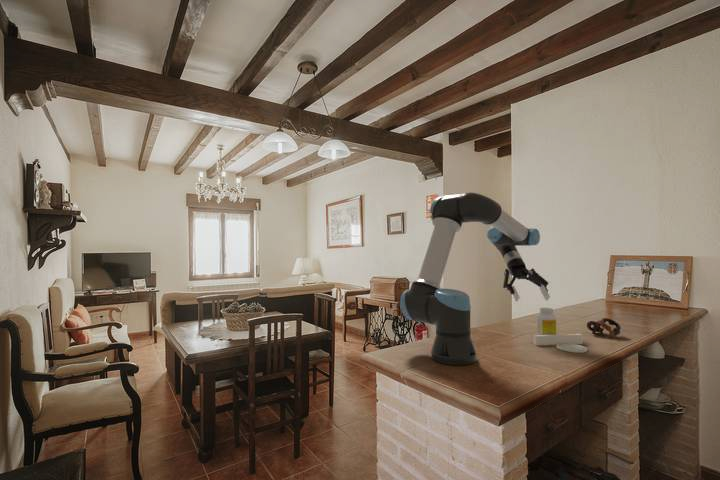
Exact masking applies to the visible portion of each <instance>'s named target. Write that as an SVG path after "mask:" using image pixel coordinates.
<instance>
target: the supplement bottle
mask: <svg viewBox="0 0 720 480" xmlns="http://www.w3.org/2000/svg"><path fill="white" fill-rule="evenodd" d="M539 311H540V312H539V313H540V314H538V315H537V335H556V334H557V316H555V315H554V308H552V307H551V308H550V307H540V308H539Z"/></svg>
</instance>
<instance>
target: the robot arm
mask: <svg viewBox="0 0 720 480" xmlns="http://www.w3.org/2000/svg"><path fill="white" fill-rule="evenodd" d="M429 213H430V219H431V221H432V226H433V230H432V233H431V237H430V240H429V243H428V246H427V250H426V253H425V256H424V259H423V260H422V264H421V265H422V266H421V268H420V272H419V275H418V276H417V279H416V280H414V281H413V282H411V287H410V288H408V289H405V290H404V291H403V292H402V294H401V295H400V303H399V307H400V310H401V313H402V314H403V316H404V317H405V318H406V319H408V320H409V321H414V322H416V323H423V324H428V325H429V324H430V325H433V326H434V325H435V338H434V341H433V343H432V346H431V350H430V357H431V359H432V360H433V361H434V362H436V363H440V364H443V365H448V366H449V365H450V366H469V365H472V364H475V363H476V362H477V352H476V348H475V346H474V342H473V340H472V336H471V331H472V329H471V308H472V307H471V302H470V301H471V300H470V296H469V295H468V294H467V293H466V292H464V291H461V290H458V289H453V288H451V289H450V288H441V287H440V286H441V282H442V279H443V276H444V272H445V269H446V265H447V262H448V259H449V256H450V251H451V249H452V247H453V246H452V245H453V242H454V240H455V239H454V238H455V235H456V233H457V232H459V231H460V230H461V229H462V225H463V224H464V223H482V224H484V225H487V226H488V225H490V226H491V227H490V228H489V229H488V230H487V232H486V237H487V238H488V240H489V242H490V243H491V244H492V245H493V246H494V247H495V248H496V249H497V250H498V251H499V253H500V254H501V256H502V258H503V260H504V262H505V264H506V267H507V268H506V269H505V270H504V272H503V274H504V278H503V285H502V288H503V289H506V290H507V291H509V293H510V295H512V297H513V298H514V301H515V302H518V301H519V300H520V295H519V293H518V291H517V289H516V287H515V285H514V283H515V281H516V279H518V280H527V281H529V282H531V283H532V284H534V285H536V286H537V287H539V290H540V292H541V294H542V296H543V298H544V300H545V301H546V302H547V301H549V299H550V298H551V296H550V294H549V293H548V292H549V290H548V288H547V287H548V285H549V281H547V280H546V279H545V278H544V277H542V276H541V275H540V274H539V273H537V271H536V270H535V269H534V268H531V269H528V268H527V267H526V264H525V261H524V260H523V257H522V256H521V254H520V253H519V251H518V249H517V246H522V247H523V246H525V247H528V246H529V247H530V246H537V245H538V244H539V243H540V241H541V233H540V230H539V229H537V228H527V227H526V226H525V225H524V224H522V223H521V222H520V221H518V220H517V219H515V218H514V217H513V216H511V215H510V214H508V213H507V212H506V211H504V210H503V209H502V206H501V205H500V204H499V203H498V202H497V201H495V200H494V199H492V198H491V197H488V196H486V195H483V194H480V193H476V192H470V191H469V192H464V193H463V192H462V193H457V194H445V195H443V196H438V197H436V198H435V199H434V200H433V201H432V203H431V205H430V207H429ZM510 275H511V276H513V277H512V278H511V280H510V283H509V278H510V277H509V276H510Z"/></svg>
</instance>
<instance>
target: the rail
mask: <svg viewBox="0 0 720 480" xmlns="http://www.w3.org/2000/svg"><path fill="white" fill-rule="evenodd" d="M532 336H533V345H535V346H556V345H557V344H562V343H568V344H577V345H583V344H584V343H583V341H584V339H583V337H584V335H583V334H582V333H563V334H560V333H559V334H557V333H556V335H538V334H536V335H535V334H533V335H532Z"/></svg>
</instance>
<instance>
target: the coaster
mask: <svg viewBox="0 0 720 480" xmlns="http://www.w3.org/2000/svg"><path fill="white" fill-rule="evenodd" d="M555 346H556V348H557V349H558V350H560V351H562V352H568V353H576V354H579V353H580V354H581V353H586V352H588V350H589V349H588V348H587V346H583V345H582V344H568V343H562V344H557V345H555Z"/></svg>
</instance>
